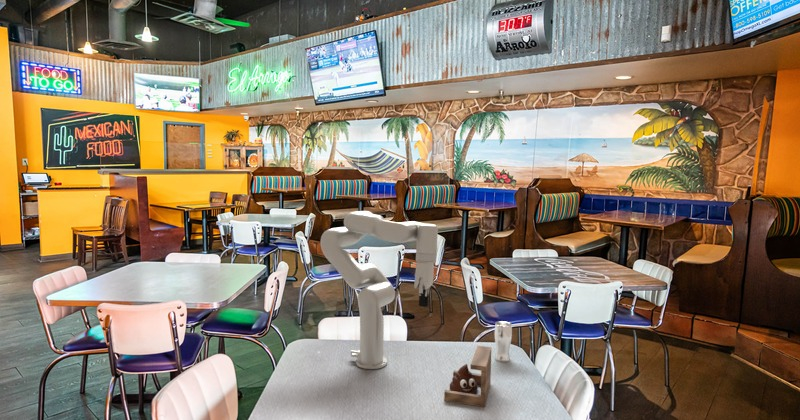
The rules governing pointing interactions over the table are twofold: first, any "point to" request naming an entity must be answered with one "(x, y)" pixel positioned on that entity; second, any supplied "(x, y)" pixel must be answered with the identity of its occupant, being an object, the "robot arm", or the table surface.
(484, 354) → the cubby
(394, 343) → the table surface
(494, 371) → the table surface
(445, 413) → the table surface
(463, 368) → the poop emoji
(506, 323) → the white cylindrical piece
